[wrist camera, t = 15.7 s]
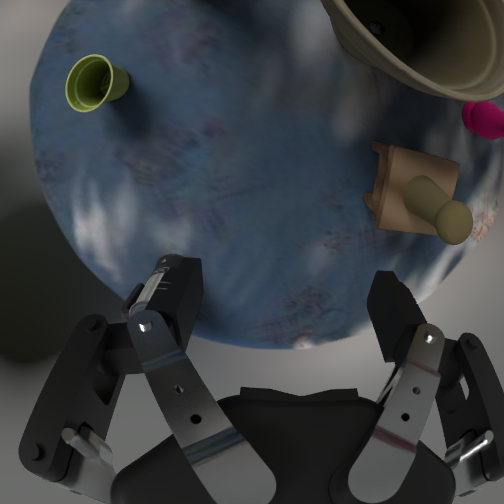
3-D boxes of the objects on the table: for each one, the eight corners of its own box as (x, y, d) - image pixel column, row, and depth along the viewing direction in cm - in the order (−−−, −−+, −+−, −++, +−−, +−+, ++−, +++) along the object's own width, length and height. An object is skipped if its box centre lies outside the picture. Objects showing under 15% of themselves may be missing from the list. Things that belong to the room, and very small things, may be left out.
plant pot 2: (265, 34, 32) (259, -23, 13) (343, -48, 20) (379, -110, 2) (392, 126, 37) (472, 152, 18) (454, 40, 26) (534, 32, 7)
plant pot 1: (110, 52, 33) (82, 47, 25) (148, 69, 35) (123, 65, 27) (87, 96, 37) (58, 100, 29) (122, 116, 39) (95, 121, 32)
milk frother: (177, 244, 52) (149, 293, 39) (228, 298, 57) (217, 353, 45) (135, 277, 57) (106, 323, 44) (183, 322, 63) (166, 371, 50)
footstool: (370, 136, 39) (394, 146, 30) (428, 150, 38) (460, 164, 29) (359, 203, 45) (378, 228, 36) (416, 211, 44) (441, 236, 36)
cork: (427, 167, 31) (472, 193, 21) (442, 200, 33) (484, 234, 23) (396, 190, 33) (434, 224, 23) (413, 222, 35) (449, 262, 26)
